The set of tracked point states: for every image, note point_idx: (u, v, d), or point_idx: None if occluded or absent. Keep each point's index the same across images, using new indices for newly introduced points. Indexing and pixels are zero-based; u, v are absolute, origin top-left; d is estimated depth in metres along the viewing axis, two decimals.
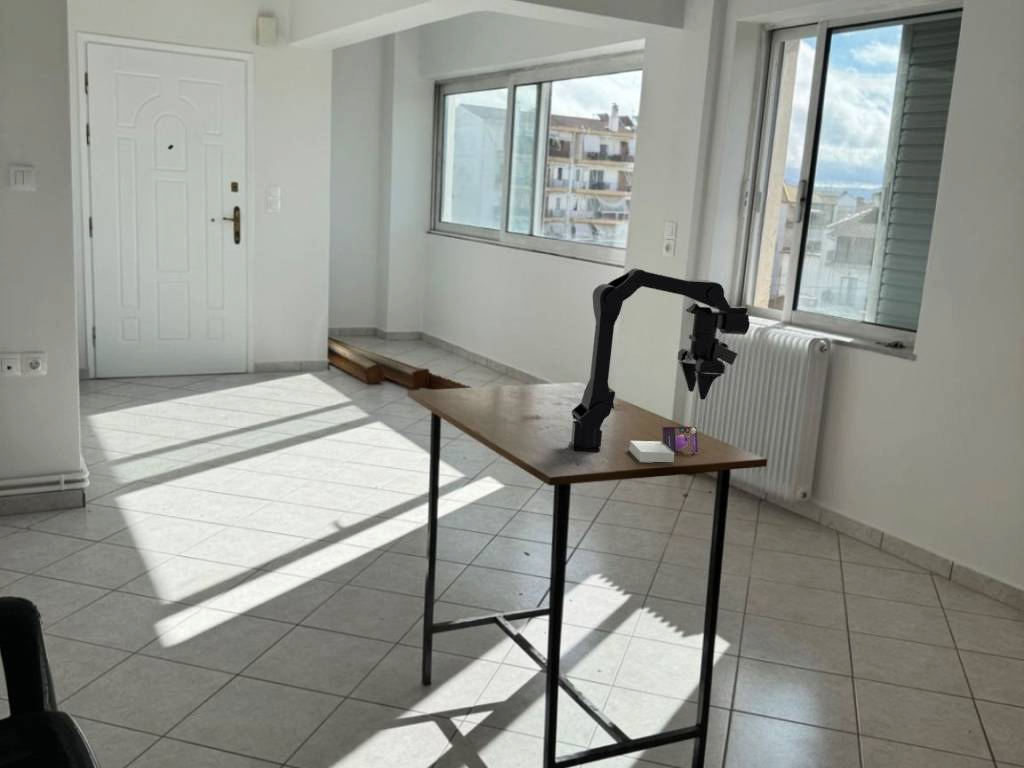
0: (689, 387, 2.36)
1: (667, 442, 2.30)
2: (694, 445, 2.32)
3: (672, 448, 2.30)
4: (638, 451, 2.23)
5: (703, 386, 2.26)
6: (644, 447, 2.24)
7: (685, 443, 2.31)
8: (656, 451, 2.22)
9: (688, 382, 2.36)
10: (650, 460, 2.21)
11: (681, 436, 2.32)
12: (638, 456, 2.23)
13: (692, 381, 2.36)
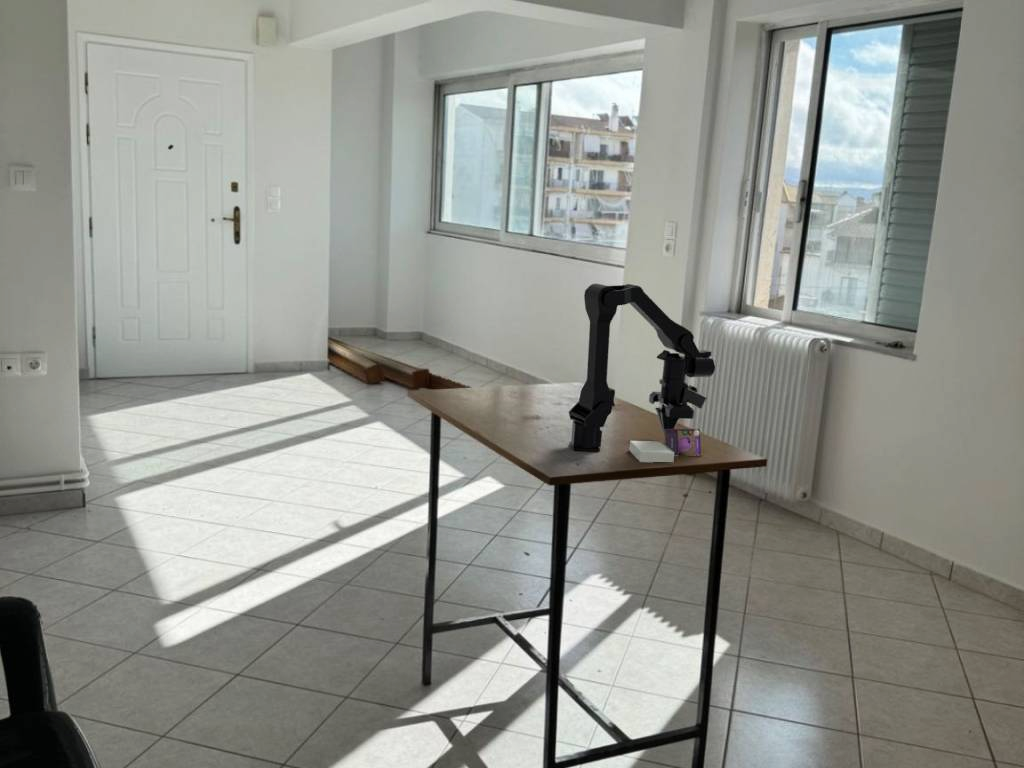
0: None
1: (669, 444, 2.28)
2: (697, 447, 2.29)
3: (675, 450, 2.28)
4: (638, 451, 2.23)
5: (668, 426, 2.38)
6: (644, 447, 2.24)
7: (688, 445, 2.29)
8: (656, 451, 2.22)
9: (664, 428, 2.39)
10: (650, 460, 2.21)
11: (684, 438, 2.30)
12: (638, 456, 2.23)
13: None
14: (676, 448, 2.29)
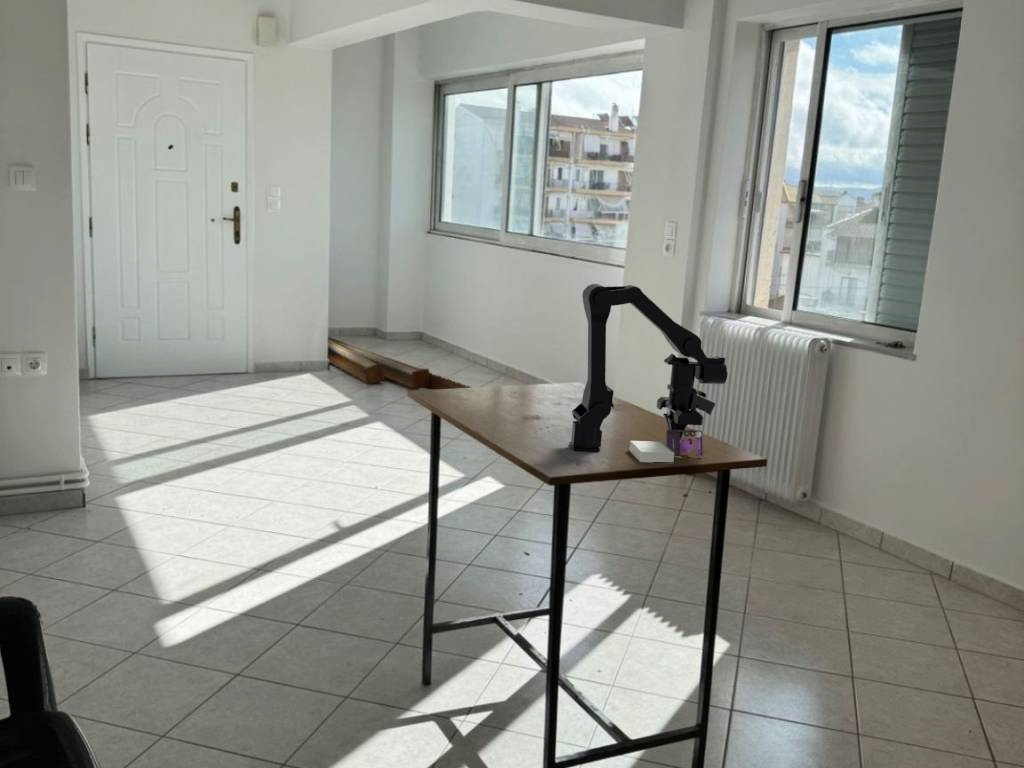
0: None
1: (671, 445, 2.27)
2: (699, 449, 2.28)
3: (676, 451, 2.27)
4: (638, 451, 2.23)
5: None
6: (644, 447, 2.24)
7: (690, 447, 2.28)
8: (656, 451, 2.22)
9: None
10: (650, 460, 2.21)
11: (686, 439, 2.29)
12: (638, 456, 2.23)
13: None
14: (677, 449, 2.27)
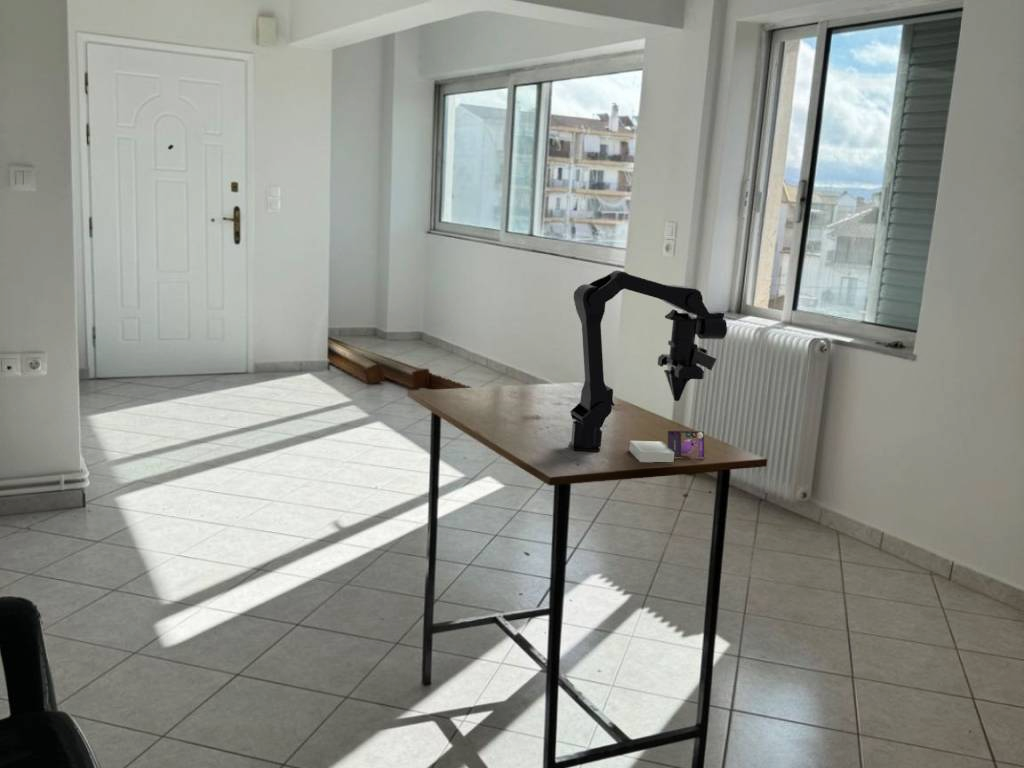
0: None
1: (672, 446, 2.26)
2: (701, 450, 2.27)
3: (677, 452, 2.26)
4: (638, 451, 2.23)
5: (677, 388, 2.32)
6: (644, 447, 2.24)
7: (691, 448, 2.27)
8: (656, 451, 2.22)
9: None
10: (650, 460, 2.21)
11: (687, 440, 2.28)
12: (638, 456, 2.23)
13: None
14: (679, 450, 2.27)
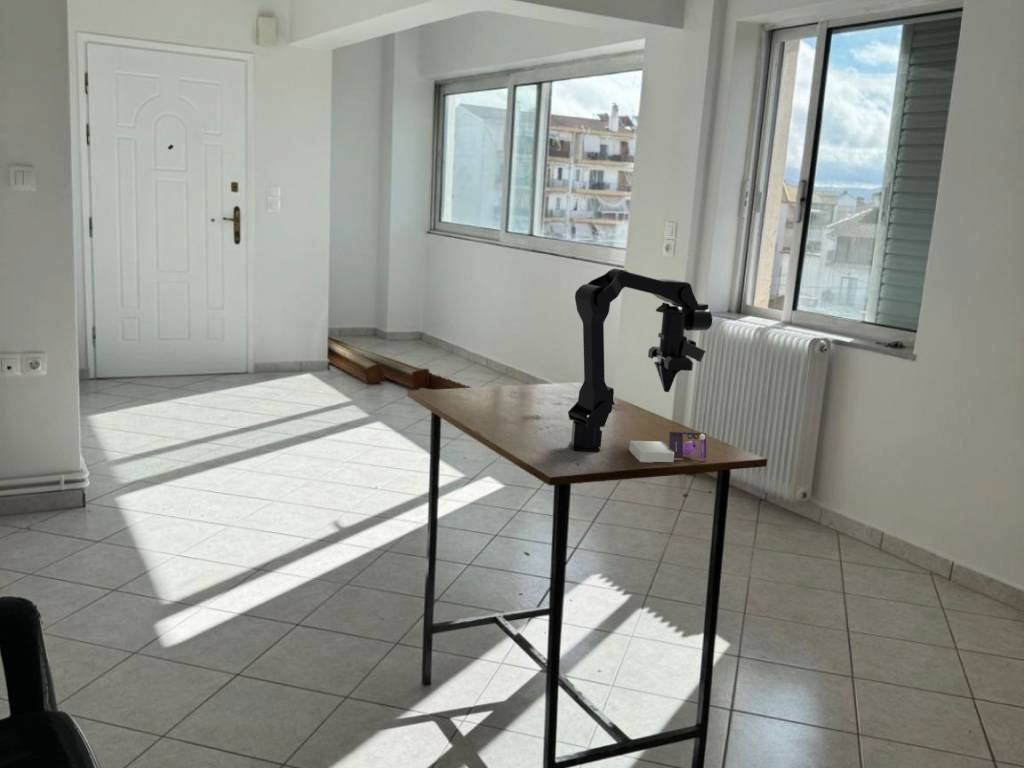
0: None
1: (673, 448, 2.25)
2: (702, 452, 2.26)
3: (679, 454, 2.25)
4: (638, 451, 2.23)
5: (667, 379, 2.37)
6: (644, 447, 2.24)
7: (693, 449, 2.26)
8: (656, 451, 2.22)
9: None
10: (650, 460, 2.21)
11: (689, 442, 2.27)
12: (638, 456, 2.23)
13: None
14: (680, 452, 2.25)
